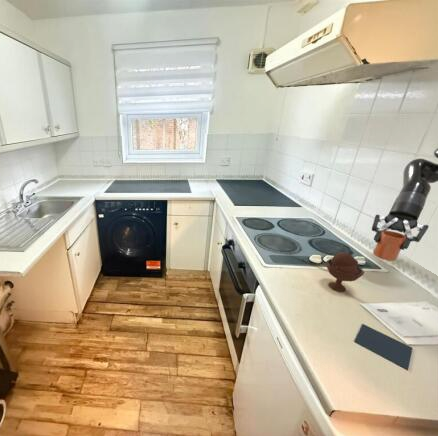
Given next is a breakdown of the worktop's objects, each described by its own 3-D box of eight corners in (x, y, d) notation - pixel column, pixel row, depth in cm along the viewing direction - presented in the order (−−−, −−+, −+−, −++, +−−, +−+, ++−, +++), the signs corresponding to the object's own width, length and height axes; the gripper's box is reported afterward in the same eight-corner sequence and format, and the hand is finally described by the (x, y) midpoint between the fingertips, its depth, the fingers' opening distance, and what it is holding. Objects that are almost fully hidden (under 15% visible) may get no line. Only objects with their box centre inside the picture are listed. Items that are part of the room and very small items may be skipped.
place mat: (412, 348, 67) (412, 347, 67) (407, 370, 61) (408, 369, 61) (362, 324, 74) (362, 323, 74) (354, 341, 69) (354, 341, 69)
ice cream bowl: (354, 301, 84) (369, 265, 78) (316, 287, 91) (328, 253, 85) (356, 287, 91) (370, 253, 85) (321, 275, 98) (332, 243, 92)
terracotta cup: (397, 256, 87) (407, 235, 84) (394, 262, 84) (405, 240, 80) (375, 250, 92) (383, 229, 88) (371, 255, 88) (380, 234, 85)
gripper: (382, 196, 89) (364, 233, 87) (440, 206, 79) (421, 248, 77) (380, 206, 95) (362, 242, 92) (434, 217, 84) (416, 257, 82)
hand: (389, 245), depth 85 cm, fingers closed on terracotta cup, 6 cm apart
